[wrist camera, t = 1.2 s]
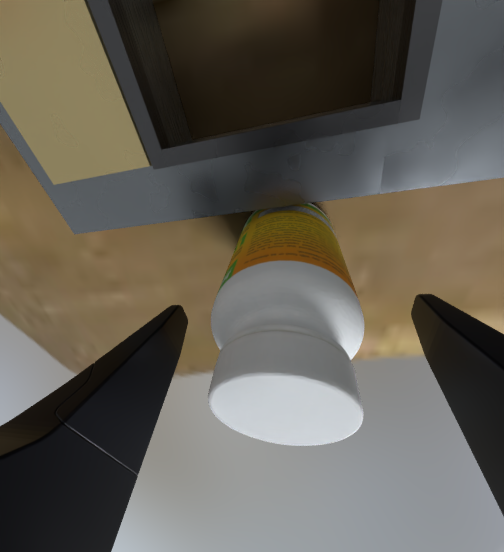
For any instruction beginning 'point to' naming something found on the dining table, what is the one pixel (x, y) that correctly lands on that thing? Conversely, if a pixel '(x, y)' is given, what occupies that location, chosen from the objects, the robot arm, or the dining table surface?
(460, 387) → the robot arm
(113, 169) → the grey base block
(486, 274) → the dining table surface
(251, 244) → the supplement bottle
